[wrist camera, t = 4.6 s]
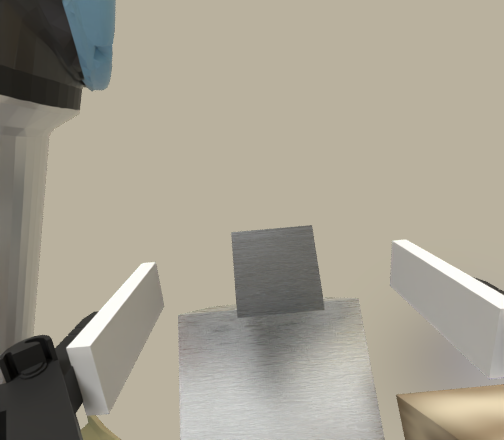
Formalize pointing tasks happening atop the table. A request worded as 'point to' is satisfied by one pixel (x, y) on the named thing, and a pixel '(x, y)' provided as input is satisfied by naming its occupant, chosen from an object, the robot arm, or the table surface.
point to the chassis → (277, 375)
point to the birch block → (453, 414)
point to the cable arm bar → (276, 272)
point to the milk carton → (97, 430)
